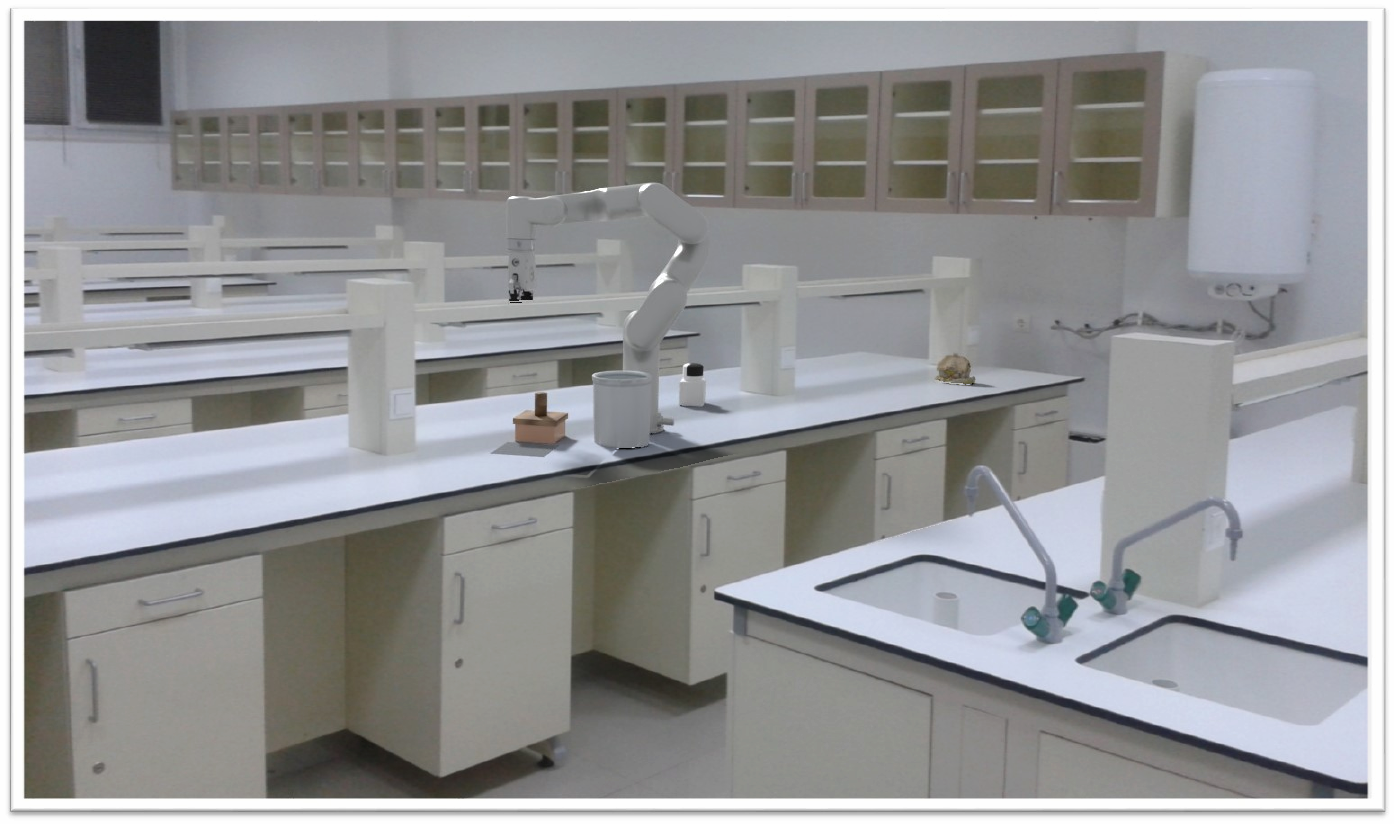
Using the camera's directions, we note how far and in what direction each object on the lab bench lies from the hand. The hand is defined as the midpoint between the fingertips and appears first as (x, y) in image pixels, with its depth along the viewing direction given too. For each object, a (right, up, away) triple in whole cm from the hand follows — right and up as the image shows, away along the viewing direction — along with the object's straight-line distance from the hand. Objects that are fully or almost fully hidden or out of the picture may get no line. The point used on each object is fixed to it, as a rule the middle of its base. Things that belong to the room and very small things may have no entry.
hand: (521, 312), depth 323 cm
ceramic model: (+132, -16, +102) cm, 167 cm away
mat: (+4, -35, -20) cm, 41 cm away
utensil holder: (+26, -34, -8) cm, 43 cm away
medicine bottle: (+44, -23, +47) cm, 69 cm away
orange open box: (+6, -33, -8) cm, 34 cm away
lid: (+6, -28, -9) cm, 30 cm away
